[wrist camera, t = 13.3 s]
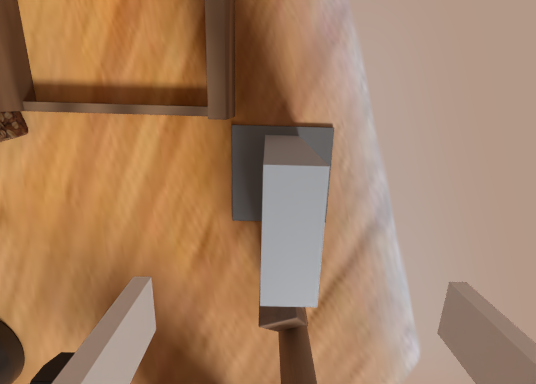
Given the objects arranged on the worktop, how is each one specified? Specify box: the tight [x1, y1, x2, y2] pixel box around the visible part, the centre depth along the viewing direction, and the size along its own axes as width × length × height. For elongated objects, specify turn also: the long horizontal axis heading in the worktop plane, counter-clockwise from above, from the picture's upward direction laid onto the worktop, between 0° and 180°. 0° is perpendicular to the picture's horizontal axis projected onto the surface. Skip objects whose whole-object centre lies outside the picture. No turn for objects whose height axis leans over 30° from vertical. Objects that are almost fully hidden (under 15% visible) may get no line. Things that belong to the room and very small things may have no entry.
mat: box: [232, 125, 334, 223], centre depth 37 cm, size 12×12×1 cm
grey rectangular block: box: [260, 135, 330, 307], centre depth 28 cm, size 10×4×18 cm, turn 178°
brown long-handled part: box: [259, 280, 317, 384], centre depth 33 cm, size 4×11×18 cm, turn 16°
